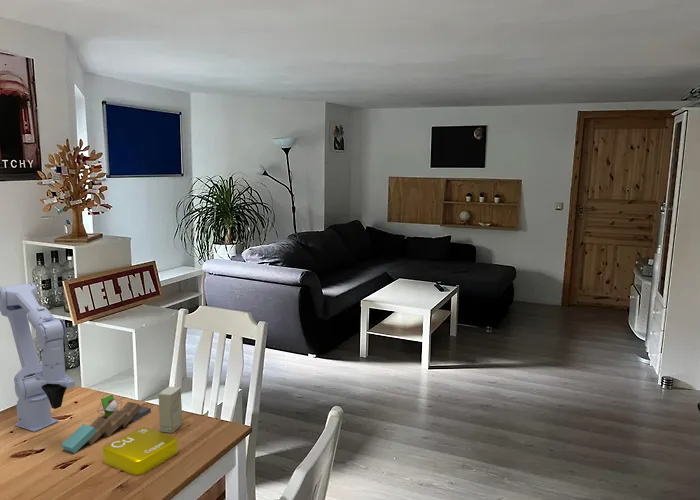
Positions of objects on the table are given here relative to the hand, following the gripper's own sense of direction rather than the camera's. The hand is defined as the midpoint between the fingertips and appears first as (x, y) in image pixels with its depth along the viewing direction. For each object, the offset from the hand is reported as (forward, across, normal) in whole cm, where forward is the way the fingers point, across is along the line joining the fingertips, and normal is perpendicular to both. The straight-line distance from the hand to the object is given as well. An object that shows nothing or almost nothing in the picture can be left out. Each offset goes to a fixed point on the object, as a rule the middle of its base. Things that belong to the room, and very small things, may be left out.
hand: (56, 407), depth 162 cm
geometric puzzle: (+11, 0, +18) cm, 21 cm away
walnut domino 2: (+10, +8, +8) cm, 15 cm away
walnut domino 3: (+9, +8, +14) cm, 19 cm away
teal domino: (+10, +8, -3) cm, 13 cm away
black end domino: (+10, +7, +18) cm, 22 cm away
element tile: (+11, +28, +5) cm, 30 cm away
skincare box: (+11, +23, +21) cm, 33 cm away
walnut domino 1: (+10, +8, +2) cm, 13 cm away
